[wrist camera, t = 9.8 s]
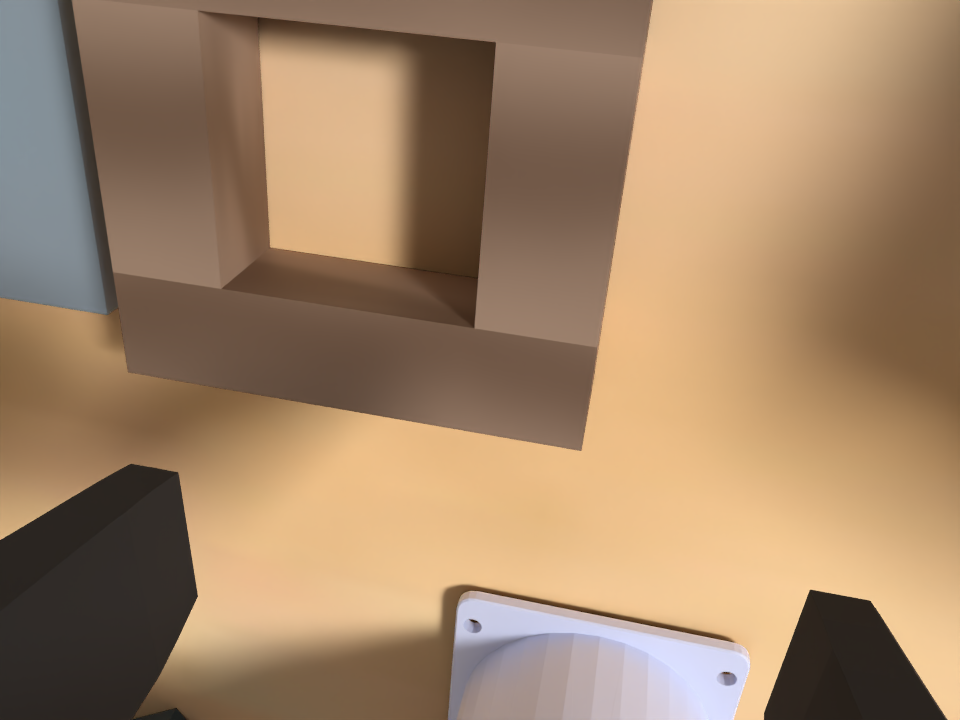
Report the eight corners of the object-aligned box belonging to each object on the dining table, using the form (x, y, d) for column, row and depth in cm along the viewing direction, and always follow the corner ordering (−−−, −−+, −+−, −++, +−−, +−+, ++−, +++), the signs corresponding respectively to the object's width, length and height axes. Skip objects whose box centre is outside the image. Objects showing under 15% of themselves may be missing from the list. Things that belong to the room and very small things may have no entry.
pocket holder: (591, 392, 20) (581, 450, 18) (183, 326, 22) (128, 372, 19) (670, -111, 15) (669, -113, 13) (129, -153, 17) (47, -162, 14)
